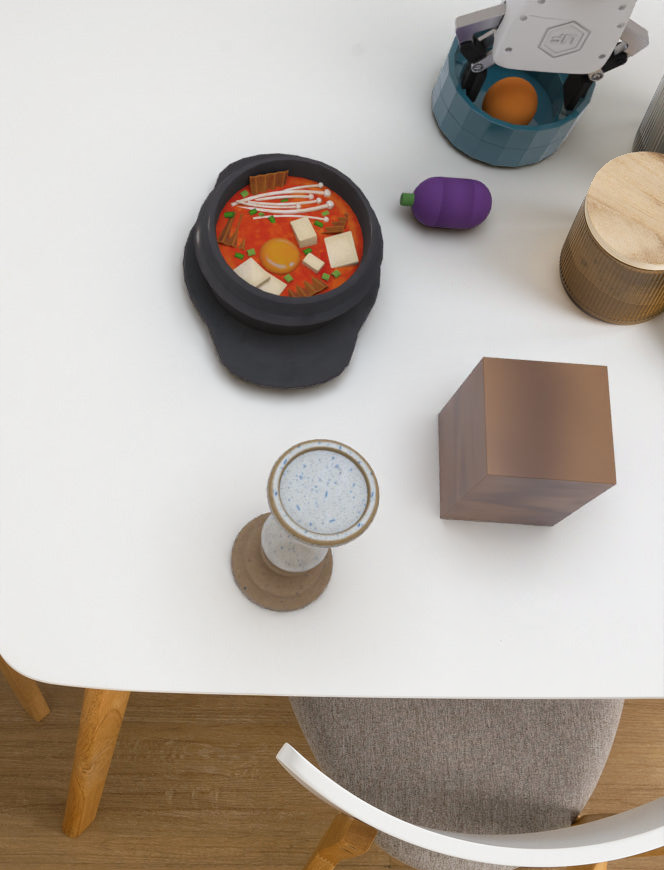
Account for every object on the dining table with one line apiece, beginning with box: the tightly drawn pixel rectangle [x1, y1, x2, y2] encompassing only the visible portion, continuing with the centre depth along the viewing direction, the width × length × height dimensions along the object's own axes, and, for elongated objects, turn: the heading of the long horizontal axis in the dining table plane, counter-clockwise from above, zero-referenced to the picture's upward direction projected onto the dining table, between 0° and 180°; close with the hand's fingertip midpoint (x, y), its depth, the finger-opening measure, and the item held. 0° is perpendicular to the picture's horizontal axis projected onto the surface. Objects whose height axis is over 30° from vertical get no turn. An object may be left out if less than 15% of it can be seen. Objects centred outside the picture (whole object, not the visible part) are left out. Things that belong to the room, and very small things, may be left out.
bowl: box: [431, 28, 597, 168], centre depth 96 cm, size 14×14×6 cm
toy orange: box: [482, 77, 538, 125], centre depth 95 cm, size 5×5×5 cm
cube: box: [437, 356, 618, 527], centre depth 81 cm, size 10×10×12 cm
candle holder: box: [230, 438, 380, 612], centre depth 74 cm, size 9×9×20 cm
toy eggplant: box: [399, 176, 493, 230], centre depth 93 cm, size 9×5×5 cm, turn 86°
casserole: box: [182, 152, 384, 390], centre depth 88 cm, size 25×19×8 cm
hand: (518, 94), depth 94 cm, fingers open, 9 cm apart
